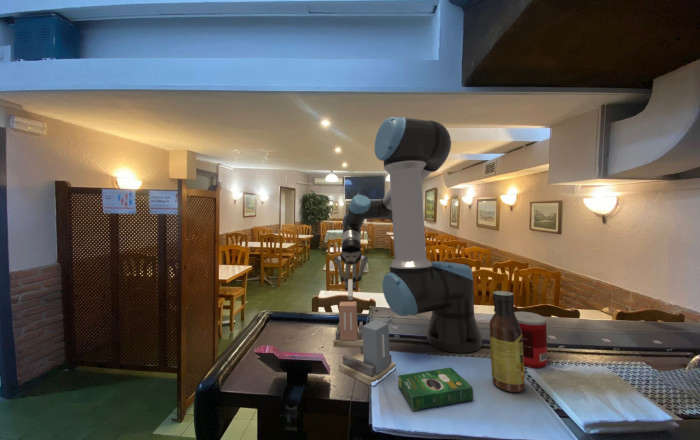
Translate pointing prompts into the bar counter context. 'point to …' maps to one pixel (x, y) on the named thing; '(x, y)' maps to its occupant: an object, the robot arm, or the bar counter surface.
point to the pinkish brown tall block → (348, 320)
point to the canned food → (533, 338)
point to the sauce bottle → (506, 344)
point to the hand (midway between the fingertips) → (350, 297)
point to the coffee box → (434, 388)
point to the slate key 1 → (376, 345)
